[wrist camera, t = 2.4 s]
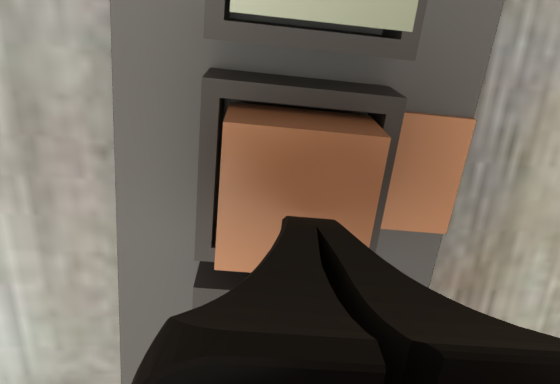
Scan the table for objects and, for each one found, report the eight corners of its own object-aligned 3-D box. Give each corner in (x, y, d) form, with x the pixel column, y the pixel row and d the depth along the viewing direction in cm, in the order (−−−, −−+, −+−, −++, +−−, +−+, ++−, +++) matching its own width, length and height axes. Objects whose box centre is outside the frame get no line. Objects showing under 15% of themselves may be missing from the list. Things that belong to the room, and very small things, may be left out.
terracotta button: (369, 115, 17) (391, 138, 14) (347, 239, 18) (362, 280, 16) (229, 101, 16) (223, 121, 13) (221, 229, 18) (214, 269, 15)
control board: (531, -207, 16) (625, -281, 12) (385, 389, 26) (408, 462, 22) (120, -269, 15) (66, -373, 11) (132, 374, 25) (105, 448, 21)
